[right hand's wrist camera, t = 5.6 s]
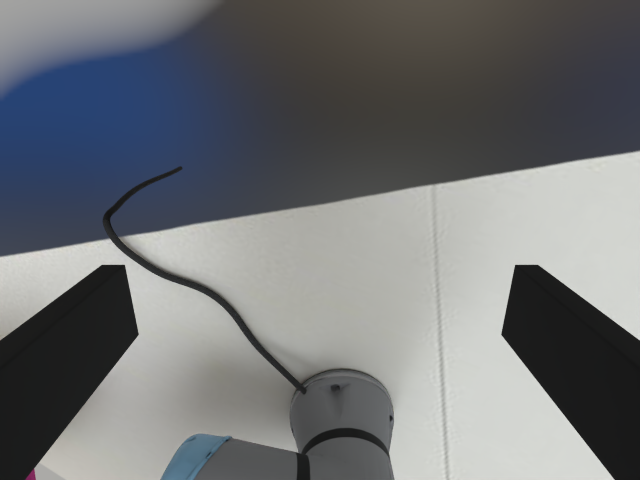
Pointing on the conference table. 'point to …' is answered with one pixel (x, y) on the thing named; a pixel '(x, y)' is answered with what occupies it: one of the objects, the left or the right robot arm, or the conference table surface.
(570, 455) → the conference table surface
